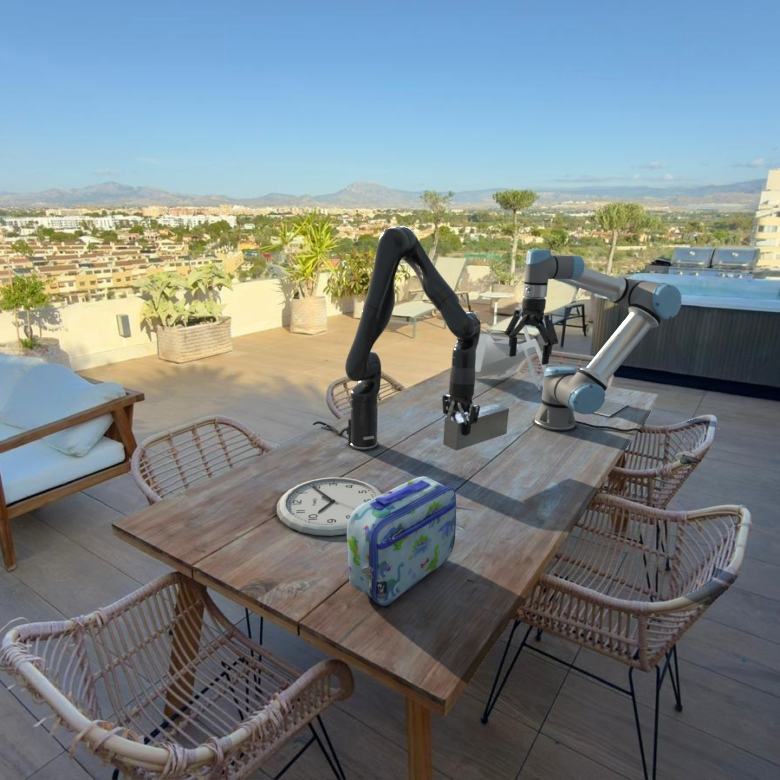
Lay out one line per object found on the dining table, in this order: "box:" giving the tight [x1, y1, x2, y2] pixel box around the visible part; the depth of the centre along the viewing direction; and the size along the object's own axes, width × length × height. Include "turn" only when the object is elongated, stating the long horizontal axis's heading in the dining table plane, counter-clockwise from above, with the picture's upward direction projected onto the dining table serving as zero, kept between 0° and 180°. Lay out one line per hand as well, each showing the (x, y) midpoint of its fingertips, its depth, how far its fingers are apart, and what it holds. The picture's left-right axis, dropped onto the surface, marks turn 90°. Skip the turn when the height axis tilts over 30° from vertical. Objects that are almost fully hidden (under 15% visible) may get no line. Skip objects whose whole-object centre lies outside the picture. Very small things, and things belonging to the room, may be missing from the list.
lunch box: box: [346, 475, 457, 607], centre depth 111 cm, size 26×11×21 cm, turn 134°
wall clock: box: [276, 476, 384, 537], centre depth 142 cm, size 30×2×30 cm
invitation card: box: [593, 398, 629, 418], centre depth 226 cm, size 21×1×15 cm
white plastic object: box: [475, 307, 548, 392], centre depth 258 cm, size 37×45×31 cm
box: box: [442, 403, 510, 452], centre depth 167 cm, size 23×6×9 cm, turn 128°
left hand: (458, 431), depth 162 cm, fingers closed on box, 6 cm apart
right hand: (528, 360), depth 179 cm, fingers open, 13 cm apart
